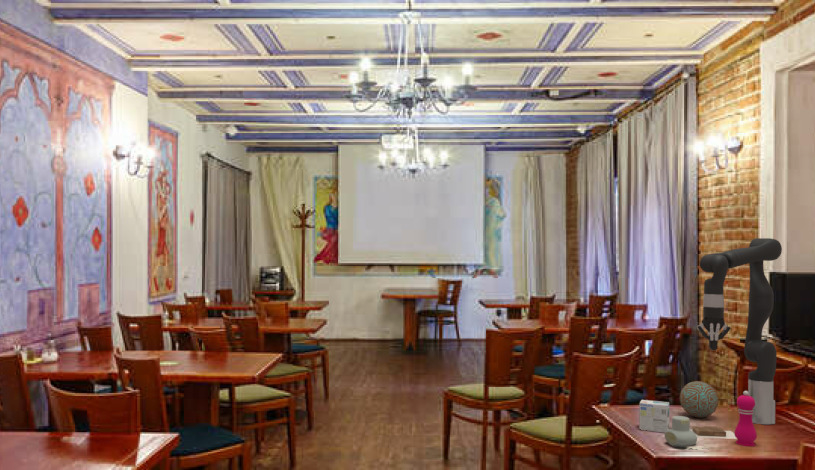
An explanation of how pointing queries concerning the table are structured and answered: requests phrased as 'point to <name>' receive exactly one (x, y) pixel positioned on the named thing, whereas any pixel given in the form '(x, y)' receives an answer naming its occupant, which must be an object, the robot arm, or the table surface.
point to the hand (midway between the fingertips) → (713, 350)
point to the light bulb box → (654, 416)
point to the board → (728, 436)
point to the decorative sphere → (699, 399)
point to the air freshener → (680, 433)
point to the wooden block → (709, 431)
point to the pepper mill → (745, 421)
